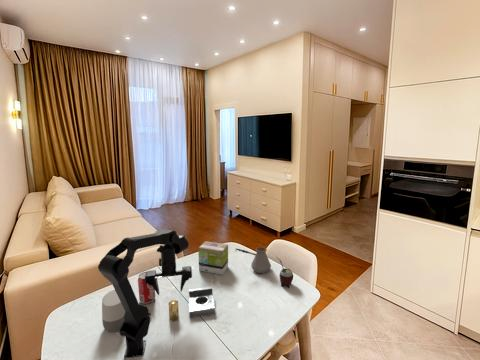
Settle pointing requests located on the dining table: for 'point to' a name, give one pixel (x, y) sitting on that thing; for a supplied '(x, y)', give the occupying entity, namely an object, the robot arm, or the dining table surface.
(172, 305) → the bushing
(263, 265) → the coffee pot
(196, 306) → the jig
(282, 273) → the mate gourd
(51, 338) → the dining table surface
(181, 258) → the dining table surface
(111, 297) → the smart speaker
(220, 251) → the tea box
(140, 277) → the soda can
